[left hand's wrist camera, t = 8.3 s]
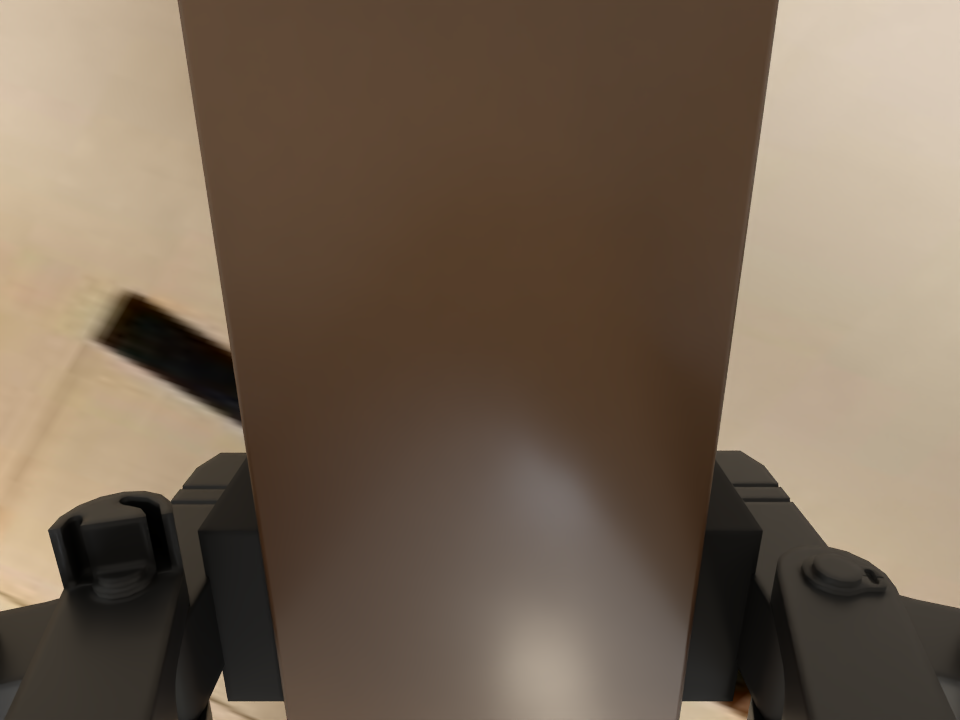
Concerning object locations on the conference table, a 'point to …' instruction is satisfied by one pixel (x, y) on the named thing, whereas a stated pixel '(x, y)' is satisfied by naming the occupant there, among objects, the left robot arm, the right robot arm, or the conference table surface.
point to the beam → (480, 334)
